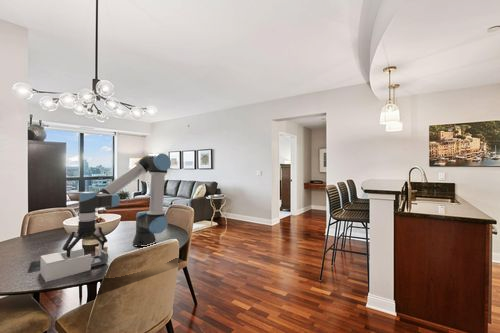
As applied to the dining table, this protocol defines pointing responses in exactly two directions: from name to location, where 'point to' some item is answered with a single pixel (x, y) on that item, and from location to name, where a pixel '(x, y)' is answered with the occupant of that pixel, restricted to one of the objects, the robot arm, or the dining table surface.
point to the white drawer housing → (64, 264)
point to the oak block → (102, 249)
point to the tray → (100, 259)
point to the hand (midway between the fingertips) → (85, 259)
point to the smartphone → (34, 266)
